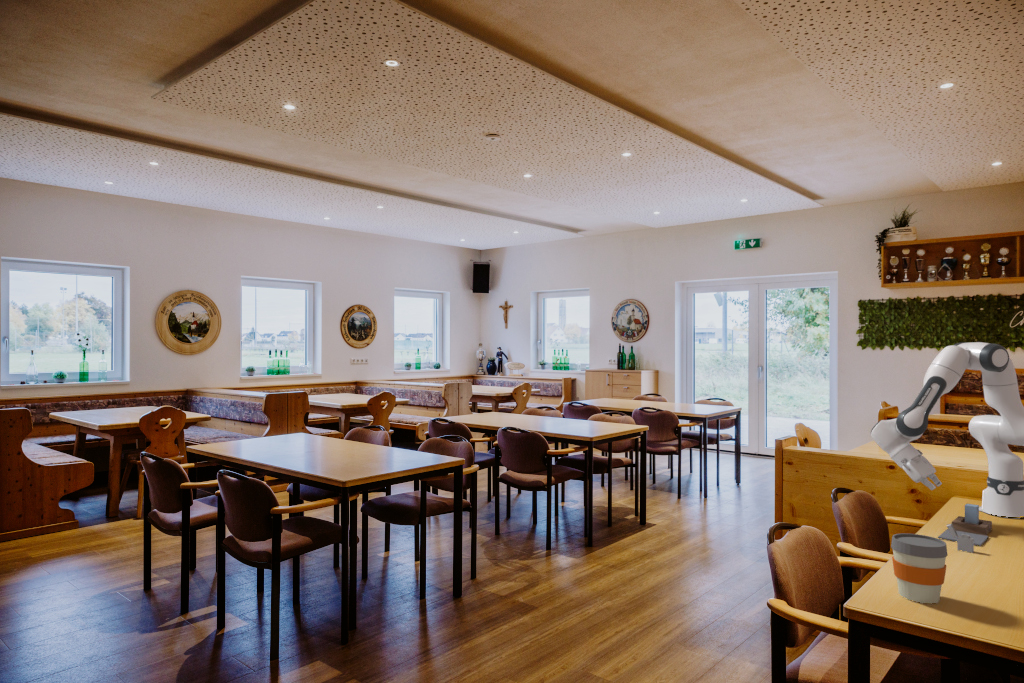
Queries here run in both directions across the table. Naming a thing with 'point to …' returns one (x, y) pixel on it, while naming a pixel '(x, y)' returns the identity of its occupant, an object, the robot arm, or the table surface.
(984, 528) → the pocket holder
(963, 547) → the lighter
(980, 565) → the table surface
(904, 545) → the reusable coffee cup
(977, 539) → the rubber mat
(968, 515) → the peg
